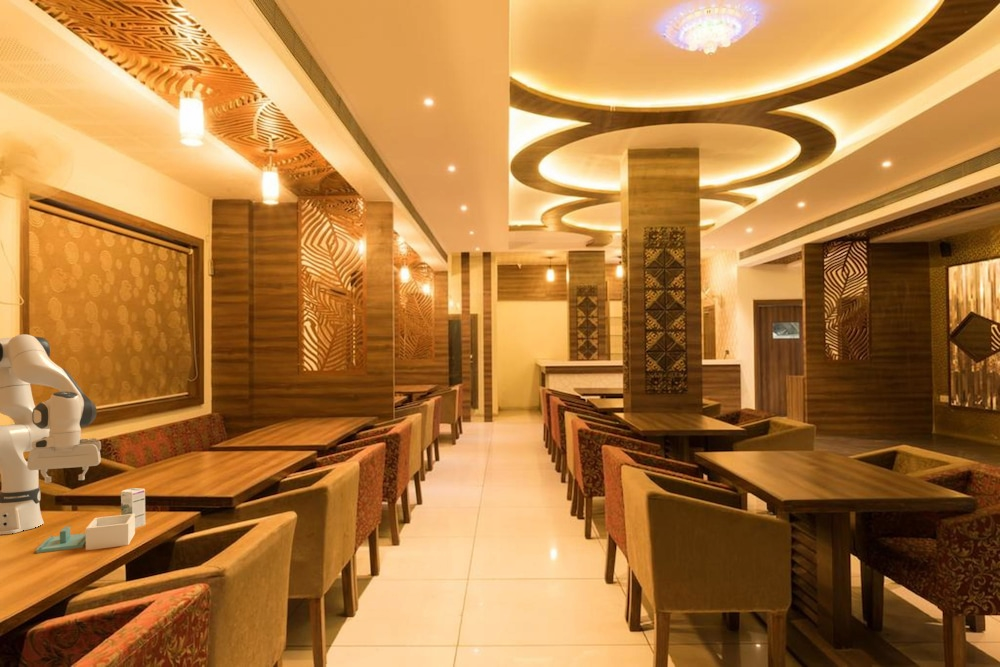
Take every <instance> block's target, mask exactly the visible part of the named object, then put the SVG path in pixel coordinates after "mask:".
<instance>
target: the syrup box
mask: <svg viewBox="0 0 1000 667" xmlns="http://www.w3.org/2000/svg"><path fill="white" fill-rule="evenodd" d="M120 500H121V501H120V515H126V514H135V529H136V528H139V527H143V526H145V525H146V489H145V488H136V487H132V488H127V489H124V490H122V491H120ZM146 526H147V525H146Z"/></svg>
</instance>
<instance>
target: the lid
mask: <svg viewBox="0 0 1000 667" xmlns="http://www.w3.org/2000/svg"><path fill="white" fill-rule="evenodd" d="M84 546H86V532H85V533H76V534H71V526H69V525H68V526H64V527H63V528H62V529H61V530H60V531H59V535H58V536H53V535H52V536H50V537H48V538H47V539H45V540H44V542H42V543H41V544H40V545H39V546H38V547H37V548H36V549H35V553H36V554H42V553H51V552H59V551H65V550H66V551H67V550H74V549H83V547H84Z"/></svg>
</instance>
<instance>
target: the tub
mask: <svg viewBox="0 0 1000 667" xmlns="http://www.w3.org/2000/svg"><path fill="white" fill-rule="evenodd" d="M85 533H86V544H85V551H91V550H98V549H99V550H100V549H106V548H107V549H108V548H115V547H123V546H124V547H125V546H129V545H130V543H131V541H132V539H133V538H134V536H135V535H136V528H135V514H126V515H121V514H120V515H110V516H108V515H107V516H100V517H95V518H93V520H91V522H90V523H89V524H88V525H87V526H86V527H85Z"/></svg>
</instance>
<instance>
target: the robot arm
mask: <svg viewBox="0 0 1000 667" xmlns="http://www.w3.org/2000/svg"><path fill="white" fill-rule="evenodd" d="M50 355H51V346H50V343H49V342H48V340H47V339H46V338H45V337H40V336H33V335H30V334H26V333H25V334H24V333H23V334H18V335H15V336H13V337H3V338H0V414H1V415H4V416H7V417H8V418H9V419H11V420H12V421H13V424H5V425H0V480H1V481H0V482H1V484H0V485H1V490H0V536H1V535H12V533H13V534H16V533H20V532H23V530H24V531H28V530H32V529H36V528H38V526H39V527H40V525H41V526H43V525H44V524H45V522H44V519H43V517H42V512H41V507H40V501H41V487H40V486H39V485H40V484H39V478H40V477H39V474H41V476H42V477H43V478H44V483H45V484H50V483H52V476H49V475H48V474H47V472H48V470H53V469H54V470H56V469H69V468H70V469H71V468H82V469H81V470H82V473H79V474H78V475H77V476H78V479H77V480H78V481H85V479H86V478H85V475H86V473H87V472H88V471H89V467H97V466H99V465H100V463H101V461H102V458H101V450H102V442H101V441H100V440H99V439H97V438H82V427H83V428H84V427H85V428H86V427H87V426H89V425H90V424H92V422H94V421H95V419H96V418H97V413H98V412H97V411H98V410H97V406H96V404H95V403H94V401H92V400H91V399H90V398H89V397H88V396H87V395H86V394H85V393H84V391H83V390H82V389H81V387H80V386H79V385H78V384H77V382H76V380H75V379H74V378H73V376H72V375H71V374H70V373H69V372H68V371H67V370H66V369H65V368H63V367H61V366H60V365H57V364H56V363H55V362H54V361H52V360H51V358H50ZM31 385H39V386H44V387H50V388H53V389H55V390H57V392H54V393H52V394H51V395H50V398H49V399H47V400H45V401H42V402H39V403H38V404H37V405H35V402H34V397H33V393H32V386H31ZM28 452H29V453H28ZM24 453H28V456H27V460H26V459H25V457H24ZM39 471H40V473H39ZM42 524H43V525H42ZM35 527H36V528H35Z"/></svg>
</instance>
